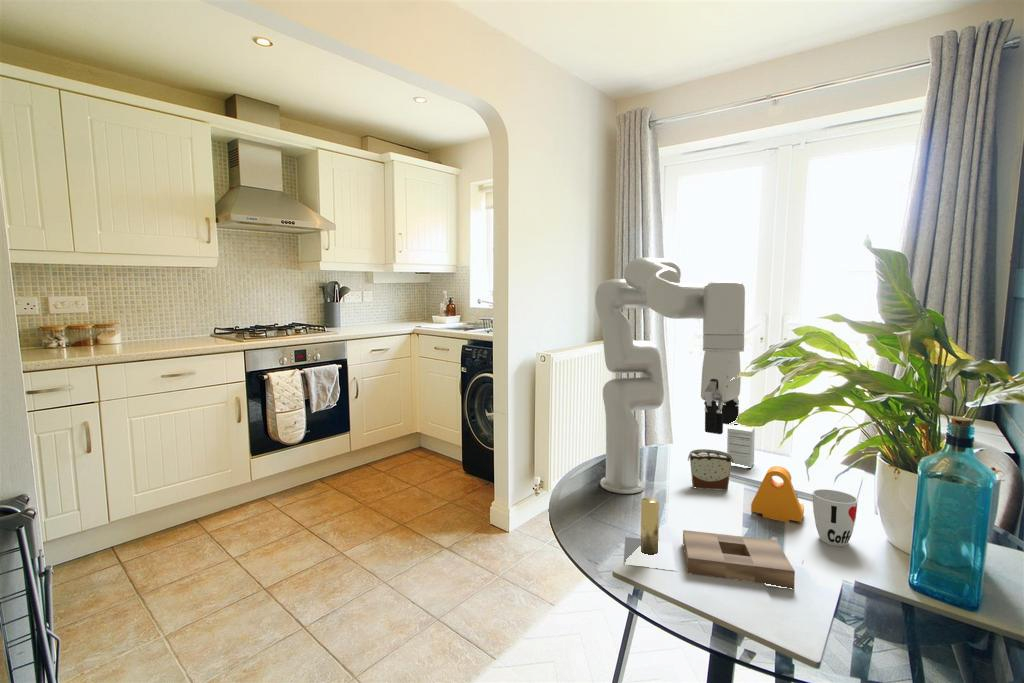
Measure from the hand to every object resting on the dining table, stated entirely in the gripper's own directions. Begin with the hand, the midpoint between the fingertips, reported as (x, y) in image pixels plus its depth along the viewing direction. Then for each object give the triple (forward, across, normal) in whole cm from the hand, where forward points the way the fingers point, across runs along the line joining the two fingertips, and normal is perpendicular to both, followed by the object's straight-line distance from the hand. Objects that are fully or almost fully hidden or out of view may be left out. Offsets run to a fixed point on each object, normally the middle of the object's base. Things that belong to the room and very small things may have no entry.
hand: (722, 428), depth 94 cm
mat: (+27, +8, -11) cm, 30 cm away
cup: (+27, -24, +16) cm, 40 cm away
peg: (+26, +8, -11) cm, 30 cm away
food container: (+27, -40, -16) cm, 51 cm away
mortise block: (+27, +1, +3) cm, 27 cm away
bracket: (+27, -31, +4) cm, 42 cm away
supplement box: (+27, -67, -15) cm, 74 cm away
